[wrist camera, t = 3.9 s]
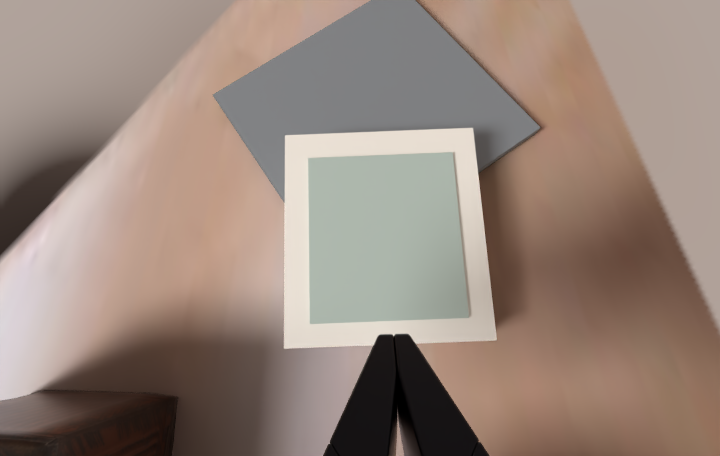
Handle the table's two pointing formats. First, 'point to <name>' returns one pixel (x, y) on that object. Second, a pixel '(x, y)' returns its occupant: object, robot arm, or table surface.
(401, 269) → the picture frame
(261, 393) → the table surface
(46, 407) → the coffee grinder
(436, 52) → the mat
